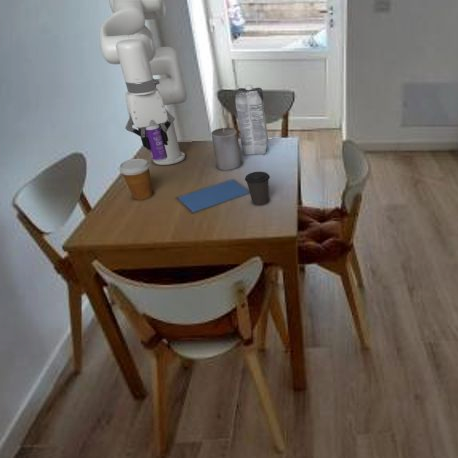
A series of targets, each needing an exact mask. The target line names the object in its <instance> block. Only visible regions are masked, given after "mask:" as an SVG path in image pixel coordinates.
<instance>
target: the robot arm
mask: <svg viewBox="0 0 458 458" xmlns="http://www.w3.org/2000/svg"><path fill="white" fill-rule="evenodd" d="M108 3H109V7H110V9H111V12H112V14H111V15H109V16H108V17H107V18H106V19H105V20H104V21H103V22H102V23H101V25H100V27H99V31H98V34H99V47H100V52H101V55H102V57H103V59H104V60H105V61H106V62H107V63H108V64H111V65H120V69H121V71H122V75H123V79H124V82H125V86H126V89H127V91H126V92H125V96H124V97H125V103H126V108H127V114H128V121H127V122H126V125H125V130H126V131H128V132H130V133H133V134H135V135H137V136H139V137H140V140H141V143H142V147H143V148H146V149H147V150H148V151H150V149H151V148H150V145H149V141H148V138H147V137H146V135H145V127H148V126H149V123H150V121H151V120H154V121H155V122H156V124H159V125H160V129H161V133H162V137H163V141H164V145H165V149H166V153H167V158H166V159H165V160H162V161H153V160H152V163H154V164H155V165H159V166H169V165H174V164H178V163H180V162H182V161H184V159H186V154H185V152H184V151H181V149H180V145H179V141H178V140H179V139H178V137H177V131H176V127H175V123H174V122H175V120H176V119H175V116H173V115H172V114H171V112H170V111H169V110H168V109H166V106H168V105H177V104H183V103H185V102H186V101H187V97H188V95H187V89H186V84H185V79H184V75H183V70H182V67H181V61H180V57H179V55H178V52H177V50H176V49H175V48H173V47H172V46H156V44H155V41H154V36H153V33H152V31H151V30H150V28H149V27H148V26H146V21H149V20H163V18H164V17H166V5H165V1H164V0H108ZM162 75H168V76H170V77H165V78H154V76H162ZM133 126H134V127H133Z"/></svg>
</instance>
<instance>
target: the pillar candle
mask: <svg viewBox="0 0 458 458" xmlns="http://www.w3.org/2000/svg"><path fill="white" fill-rule="evenodd" d="M211 141H212V145H213V149H214V150H213V152H214V156H215V162H216V168H217V169H219V170H223V171H230V170H234V169H237V168H240V167H241V166H242V165H243V164H242V163H243V162H242V155H241V149H240V142H239V135H238V130H237V129H236V128H233V127H220V128H217V129H215V130H212V131H211Z"/></svg>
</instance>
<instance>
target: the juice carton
mask: <svg viewBox="0 0 458 458" xmlns="http://www.w3.org/2000/svg"><path fill="white" fill-rule="evenodd" d="M234 101H235V110H236V117H237V123H238V130H239V137H240V144H241V147H242V151H243V153H244V155H245V156H251V155H266V152H267V149H268V145H269V135H268V126H267V116H266V107H265V99H264V93H263V89H262V88H261V87H254V88H253V85H252V84H246V85H245V86H244V87H239V88H238V89H237V91H236V92H235V93H234Z"/></svg>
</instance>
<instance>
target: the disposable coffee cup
mask: <svg viewBox="0 0 458 458" xmlns="http://www.w3.org/2000/svg"><path fill="white" fill-rule="evenodd" d="M150 166H151V165H150V162H149V161H148V160H147V159H145V158H131V159H128V160H125V161H123V162H121V163H120V164H119V168H118V169H119V170H118V171H119V173H121V174H122V177H123V178H124V181H125V183H126V185H127V187H128V189H129V192H130V193H131V196H132V198H133V199H135V200H140V201H141V200H145V199H148V198H151V197H152V196H153V187H152V181H151V173H150Z"/></svg>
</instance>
